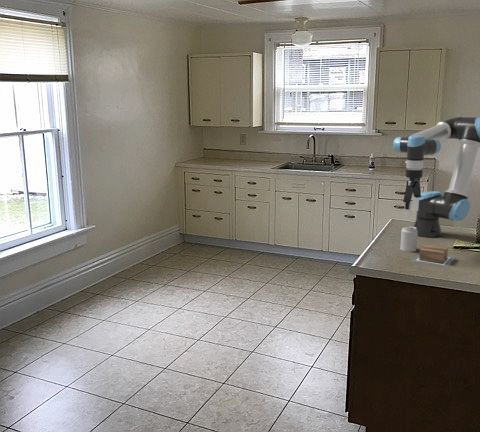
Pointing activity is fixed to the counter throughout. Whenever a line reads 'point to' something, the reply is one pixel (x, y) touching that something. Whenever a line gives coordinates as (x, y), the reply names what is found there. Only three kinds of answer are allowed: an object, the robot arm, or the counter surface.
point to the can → (409, 239)
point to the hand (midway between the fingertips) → (411, 213)
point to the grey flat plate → (445, 263)
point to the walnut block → (433, 254)
